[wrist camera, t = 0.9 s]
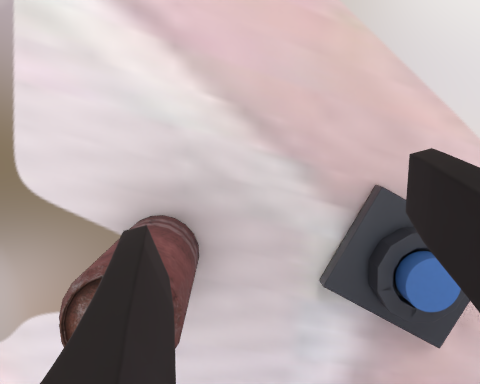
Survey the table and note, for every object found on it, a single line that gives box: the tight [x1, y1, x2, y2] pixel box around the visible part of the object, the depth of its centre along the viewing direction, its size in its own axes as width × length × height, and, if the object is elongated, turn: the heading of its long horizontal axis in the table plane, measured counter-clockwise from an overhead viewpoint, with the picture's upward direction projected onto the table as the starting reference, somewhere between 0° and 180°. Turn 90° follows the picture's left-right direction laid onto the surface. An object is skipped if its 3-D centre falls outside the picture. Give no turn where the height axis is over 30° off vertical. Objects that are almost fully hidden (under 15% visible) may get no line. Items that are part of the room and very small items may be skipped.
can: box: [59, 215, 199, 348], centre depth 27 cm, size 6×6×14 cm
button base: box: [320, 185, 470, 348], centre depth 33 cm, size 11×9×4 cm
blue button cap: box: [395, 251, 461, 312], centre depth 31 cm, size 4×4×2 cm
